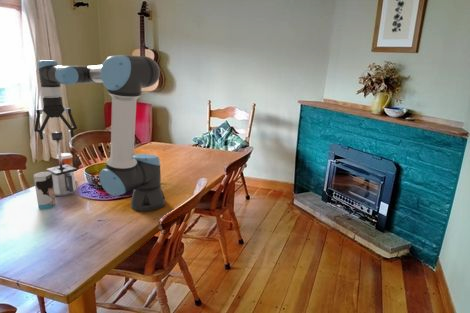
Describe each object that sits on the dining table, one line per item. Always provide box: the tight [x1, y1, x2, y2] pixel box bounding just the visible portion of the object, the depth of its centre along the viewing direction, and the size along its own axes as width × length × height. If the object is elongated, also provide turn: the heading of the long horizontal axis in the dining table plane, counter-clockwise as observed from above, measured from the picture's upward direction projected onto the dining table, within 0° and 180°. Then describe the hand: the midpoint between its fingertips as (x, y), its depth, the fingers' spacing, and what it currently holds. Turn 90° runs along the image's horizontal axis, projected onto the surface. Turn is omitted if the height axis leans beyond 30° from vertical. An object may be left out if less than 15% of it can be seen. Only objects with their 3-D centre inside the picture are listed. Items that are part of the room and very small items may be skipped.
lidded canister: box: [45, 164, 78, 198], centre depth 156 cm, size 13×10×12 cm
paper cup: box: [56, 152, 74, 167], centre depth 173 cm, size 8×8×14 cm
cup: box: [33, 171, 57, 211], centre depth 141 cm, size 7×7×15 cm
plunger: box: [51, 131, 64, 170], centre depth 153 cm, size 7×7×21 cm
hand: (58, 145), depth 152 cm, fingers open, 10 cm apart
